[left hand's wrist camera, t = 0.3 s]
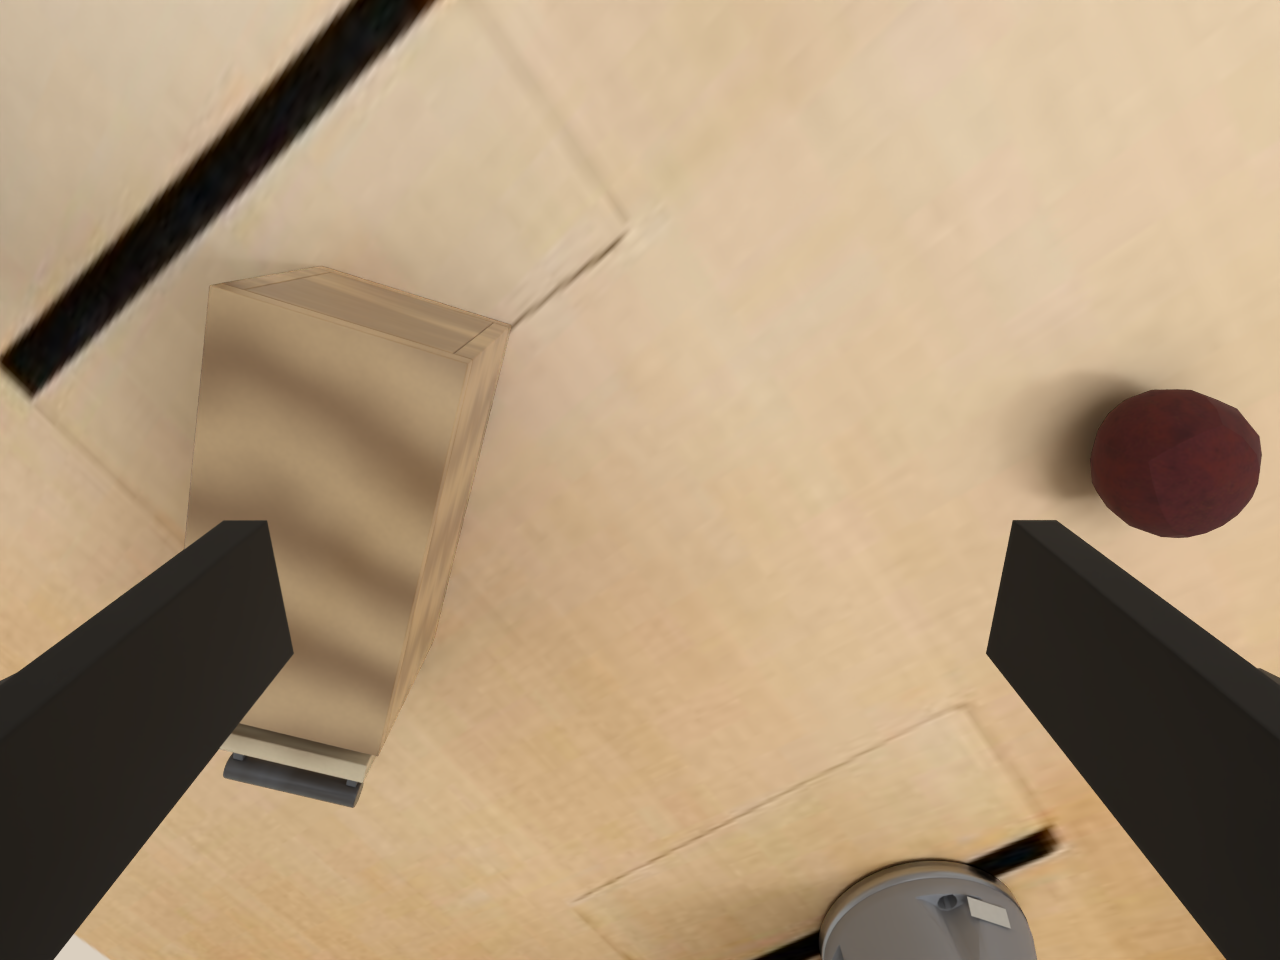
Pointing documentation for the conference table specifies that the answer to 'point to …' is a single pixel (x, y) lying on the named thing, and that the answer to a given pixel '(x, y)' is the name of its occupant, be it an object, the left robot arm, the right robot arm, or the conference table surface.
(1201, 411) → the dark red ball
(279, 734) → the drawer
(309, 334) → the cabinet
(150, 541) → the conference table surface
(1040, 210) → the conference table surface
